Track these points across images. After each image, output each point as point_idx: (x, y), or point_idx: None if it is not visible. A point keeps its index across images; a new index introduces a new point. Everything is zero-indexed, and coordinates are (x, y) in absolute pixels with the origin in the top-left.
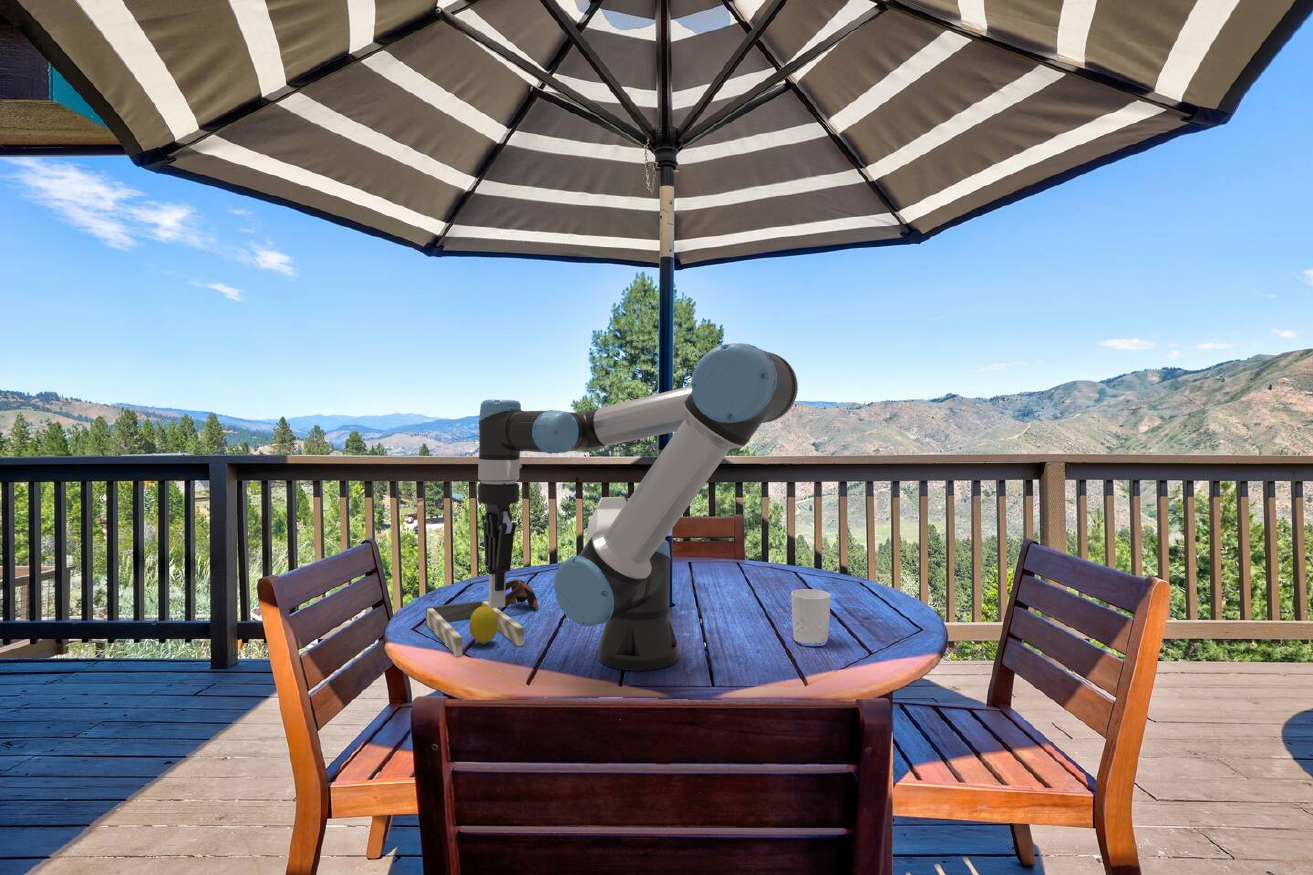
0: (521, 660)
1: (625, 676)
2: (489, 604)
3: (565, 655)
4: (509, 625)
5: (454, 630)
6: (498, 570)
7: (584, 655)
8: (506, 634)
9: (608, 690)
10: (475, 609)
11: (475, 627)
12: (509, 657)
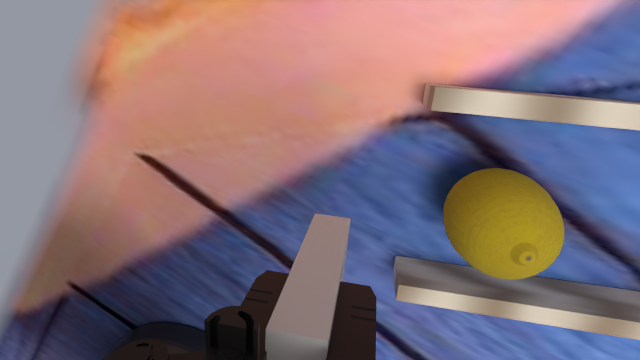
0: (290, 213)
1: (107, 315)
2: (336, 222)
3: None
4: (478, 290)
5: (534, 117)
6: (116, 355)
7: None
8: None
9: (57, 257)
10: None
11: (476, 180)
12: (328, 201)
